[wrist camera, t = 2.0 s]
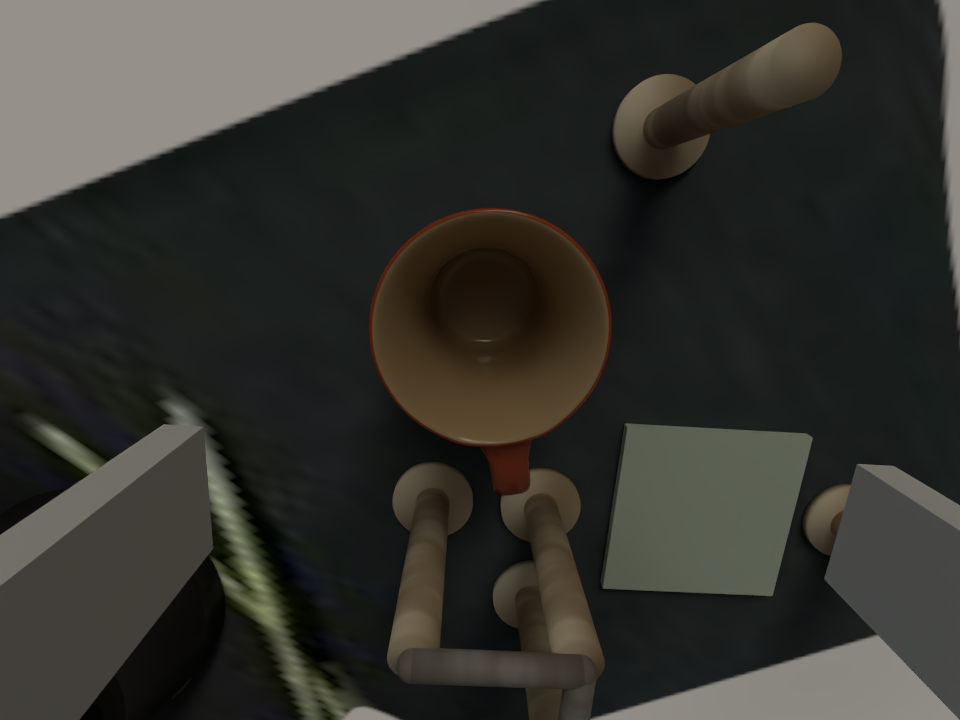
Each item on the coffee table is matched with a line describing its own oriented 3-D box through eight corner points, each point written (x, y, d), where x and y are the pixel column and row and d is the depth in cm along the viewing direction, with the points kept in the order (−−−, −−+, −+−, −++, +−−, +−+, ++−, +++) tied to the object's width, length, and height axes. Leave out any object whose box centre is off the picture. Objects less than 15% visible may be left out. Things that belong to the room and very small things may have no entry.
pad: (600, 582, 34) (602, 588, 33) (624, 423, 31) (627, 427, 30) (767, 589, 34) (772, 596, 33) (806, 433, 31) (812, 437, 31)
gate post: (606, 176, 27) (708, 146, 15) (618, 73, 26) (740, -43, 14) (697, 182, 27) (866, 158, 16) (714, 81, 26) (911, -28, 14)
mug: (389, 223, 27) (345, 227, 18) (554, 199, 27) (603, 190, 17) (427, 432, 31) (407, 535, 21) (575, 412, 30) (625, 506, 21)
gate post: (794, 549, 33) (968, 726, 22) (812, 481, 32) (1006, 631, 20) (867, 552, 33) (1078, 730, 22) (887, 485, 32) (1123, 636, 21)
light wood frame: (390, 617, 34) (345, 848, 22) (394, 459, 31) (345, 622, 19) (562, 624, 34) (615, 855, 22) (582, 469, 31) (657, 634, 19)
